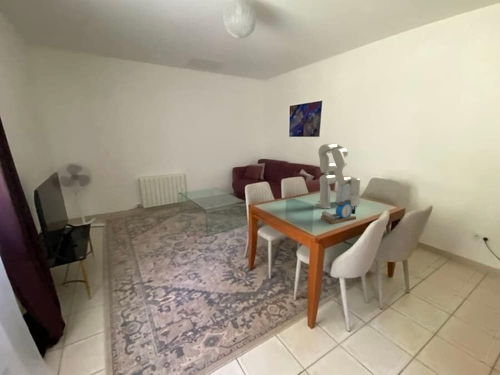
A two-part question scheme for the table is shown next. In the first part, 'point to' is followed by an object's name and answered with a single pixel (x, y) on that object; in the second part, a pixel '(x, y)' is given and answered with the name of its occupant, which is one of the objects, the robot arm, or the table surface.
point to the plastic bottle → (342, 192)
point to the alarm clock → (344, 209)
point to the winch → (328, 217)
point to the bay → (344, 219)
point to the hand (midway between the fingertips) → (352, 213)
